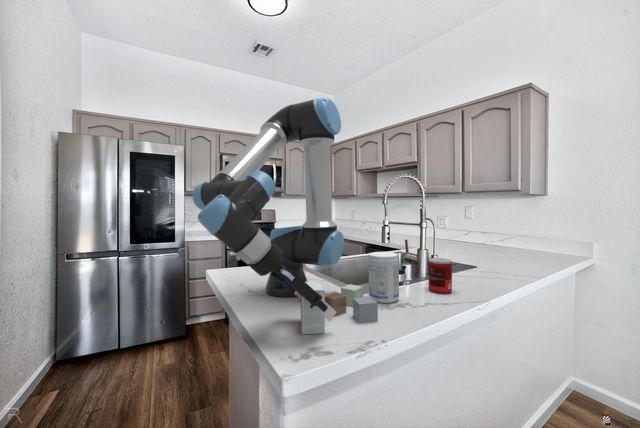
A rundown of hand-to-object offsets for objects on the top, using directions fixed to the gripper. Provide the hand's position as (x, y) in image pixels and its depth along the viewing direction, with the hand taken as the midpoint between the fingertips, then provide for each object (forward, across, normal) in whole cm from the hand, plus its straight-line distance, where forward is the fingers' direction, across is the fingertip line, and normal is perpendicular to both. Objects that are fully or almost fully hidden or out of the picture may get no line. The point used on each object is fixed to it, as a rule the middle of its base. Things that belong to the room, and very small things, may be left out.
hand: (322, 309), depth 71 cm
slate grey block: (+11, +2, +6) cm, 13 cm away
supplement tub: (+22, -8, +16) cm, 28 cm away
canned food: (+38, -5, +32) cm, 50 cm away
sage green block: (+14, -10, +8) cm, 19 cm away
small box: (+1, 0, -5) cm, 5 cm away
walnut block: (+8, -6, +2) cm, 10 cm away
